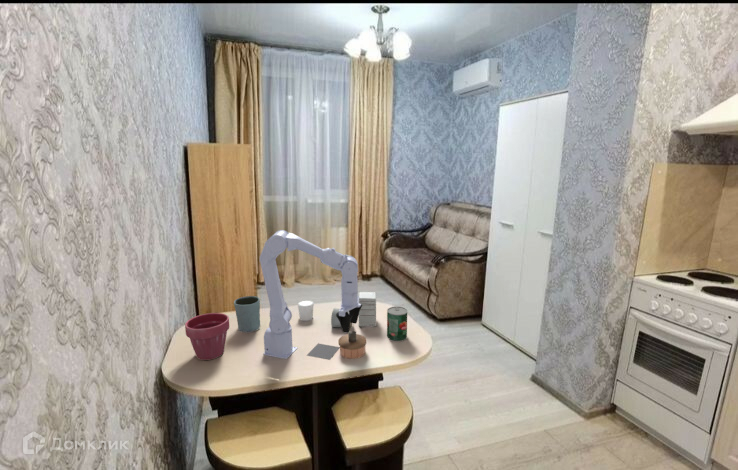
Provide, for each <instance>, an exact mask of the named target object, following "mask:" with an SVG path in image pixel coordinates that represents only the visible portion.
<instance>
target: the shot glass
mask: <svg viewBox="0 0 738 470" xmlns="http://www.w3.org/2000/svg"><path fill="white" fill-rule="evenodd" d="M297 309H298V316H299V320H300V321H305V322H308V321H311V320H313V317H314V301H313V300H310V299H309V300H301V301H299V302H297Z"/></svg>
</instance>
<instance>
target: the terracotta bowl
mask: <svg viewBox="0 0 738 470" xmlns="http://www.w3.org/2000/svg"><path fill="white" fill-rule="evenodd" d="M339 347H340V346H339ZM339 354H340V356H341V357H343V358H345V359H359V358H361V357H363V356H365V354H366V345H365V346H364V347H362V348H359V349H354V350H350V349H344V348H342V347H340V348H339Z"/></svg>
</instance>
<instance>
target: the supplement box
mask: <svg viewBox="0 0 738 470" xmlns="http://www.w3.org/2000/svg"><path fill="white" fill-rule="evenodd" d="M358 296H359V297H360V301H359V302H358V303H362V307H361V309H360V312H359V315H358V327H371V328H372V327H376V326H377V292H375V291H369V292H368V291H360V292H359V291H358Z"/></svg>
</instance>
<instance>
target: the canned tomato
mask: <svg viewBox="0 0 738 470" xmlns="http://www.w3.org/2000/svg"><path fill="white" fill-rule="evenodd" d="M408 313H409V311H408V309H407V308H405V307H402V306H391V307H388V308H387V310H386V338H387V339H389V341H392V342H403V341H406V340H407V337H408Z"/></svg>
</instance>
